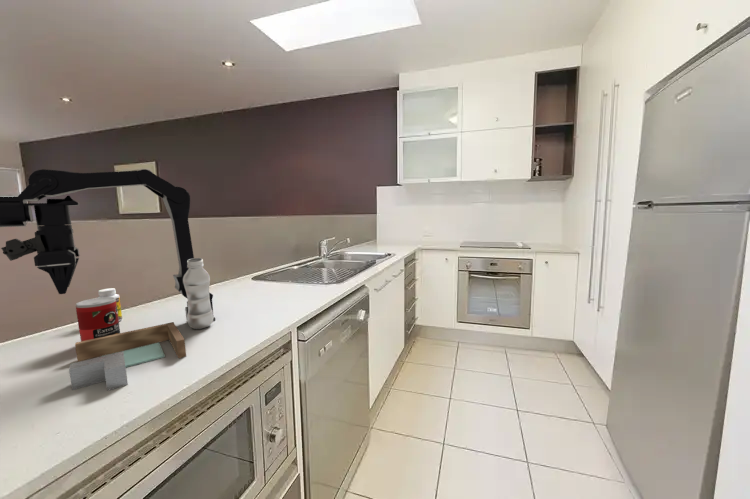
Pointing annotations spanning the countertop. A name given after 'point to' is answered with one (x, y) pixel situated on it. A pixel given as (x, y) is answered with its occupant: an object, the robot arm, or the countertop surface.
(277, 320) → the countertop surface
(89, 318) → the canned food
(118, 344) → the wooden corner wall
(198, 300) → the plastic bottle
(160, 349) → the pad
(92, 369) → the bracket
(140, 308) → the countertop surface
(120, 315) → the supplement bottle
